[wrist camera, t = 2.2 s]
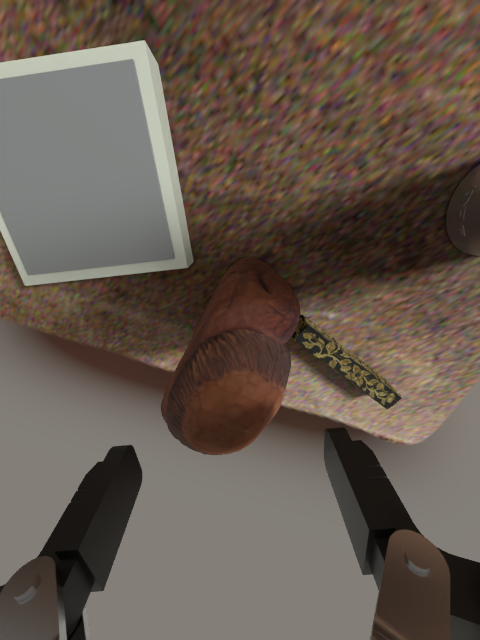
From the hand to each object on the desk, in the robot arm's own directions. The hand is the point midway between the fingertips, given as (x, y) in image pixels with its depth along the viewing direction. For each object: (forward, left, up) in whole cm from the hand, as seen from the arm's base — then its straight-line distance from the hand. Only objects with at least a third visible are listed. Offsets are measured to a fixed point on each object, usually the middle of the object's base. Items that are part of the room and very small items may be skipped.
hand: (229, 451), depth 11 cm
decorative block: (-12, +8, -20) cm, 25 cm away
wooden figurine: (0, 0, -20) cm, 20 cm away
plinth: (+12, -13, -20) cm, 26 cm away
